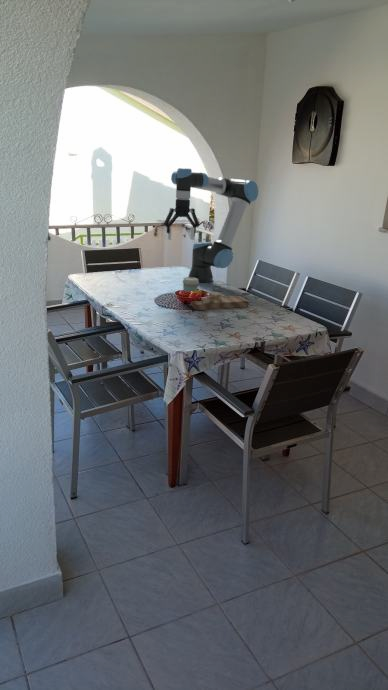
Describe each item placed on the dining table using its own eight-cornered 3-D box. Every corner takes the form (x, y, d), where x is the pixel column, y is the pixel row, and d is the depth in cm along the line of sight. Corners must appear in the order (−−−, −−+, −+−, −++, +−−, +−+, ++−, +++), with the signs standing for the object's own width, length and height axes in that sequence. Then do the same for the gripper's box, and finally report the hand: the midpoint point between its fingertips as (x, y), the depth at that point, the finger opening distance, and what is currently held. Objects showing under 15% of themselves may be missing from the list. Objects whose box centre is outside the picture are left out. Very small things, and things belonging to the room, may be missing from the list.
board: (238, 301, 274) (239, 295, 273) (248, 306, 266) (248, 300, 265) (187, 304, 261) (188, 299, 260) (196, 310, 253) (196, 304, 252)
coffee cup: (200, 301, 270) (202, 278, 266) (192, 304, 263) (193, 281, 259) (186, 298, 274) (188, 276, 270) (178, 301, 267) (179, 278, 263)
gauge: (217, 299, 264) (217, 291, 263) (223, 301, 260) (224, 294, 259) (198, 301, 257) (198, 293, 256) (204, 304, 253) (205, 296, 252)
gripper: (200, 198, 279) (198, 237, 286) (158, 197, 268) (156, 238, 276) (207, 200, 273) (204, 240, 280) (163, 199, 262) (162, 240, 269)
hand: (180, 239), depth 278 cm, fingers open, 13 cm apart
